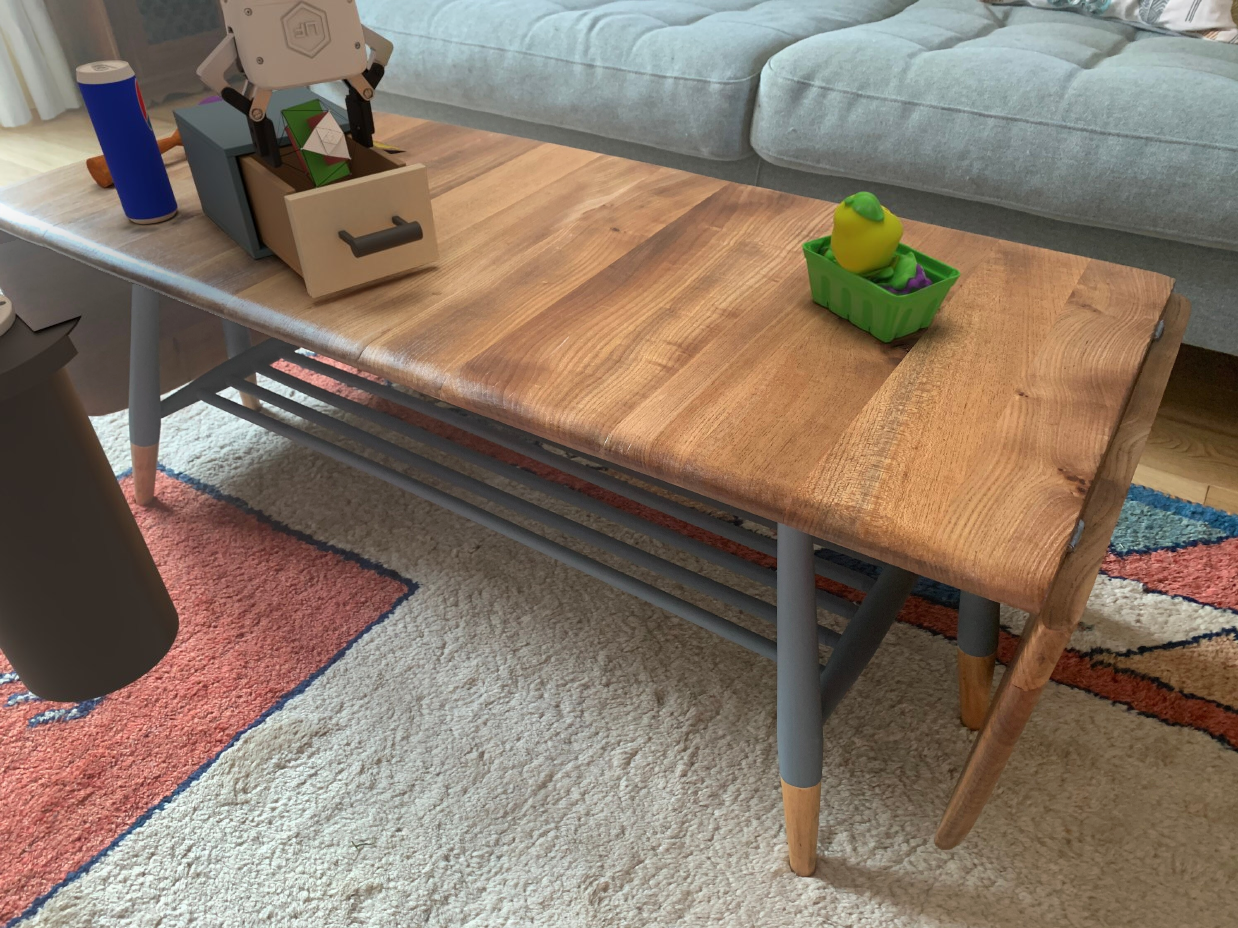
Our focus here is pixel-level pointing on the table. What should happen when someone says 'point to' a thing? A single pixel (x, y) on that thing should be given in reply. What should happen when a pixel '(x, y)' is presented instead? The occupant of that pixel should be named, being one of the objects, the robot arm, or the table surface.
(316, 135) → the geometric puzzle
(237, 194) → the cabinet
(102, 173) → the kendama
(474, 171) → the table surface
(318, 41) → the robot arm
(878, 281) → the fruit basket
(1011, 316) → the table surface
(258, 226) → the drawer
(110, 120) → the beverage can
